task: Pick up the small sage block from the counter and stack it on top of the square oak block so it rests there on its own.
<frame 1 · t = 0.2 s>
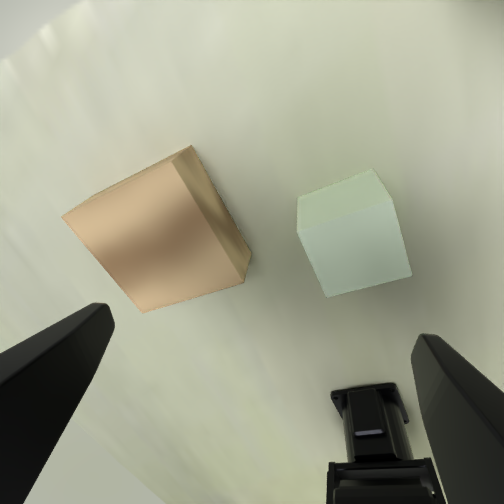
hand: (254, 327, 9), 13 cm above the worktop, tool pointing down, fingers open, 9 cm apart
oak block: (175, 223, 24), on the worktop
sage block: (344, 215, 21), on the worktop
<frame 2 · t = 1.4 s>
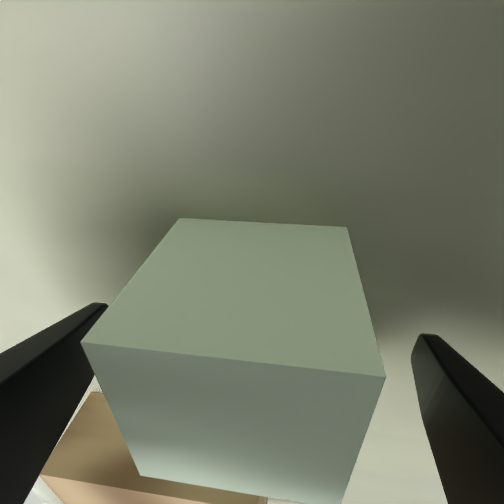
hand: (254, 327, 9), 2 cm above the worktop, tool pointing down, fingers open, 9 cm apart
oak block: (190, 443, 17), on the worktop
sage block: (260, 286, 10), on the worktop
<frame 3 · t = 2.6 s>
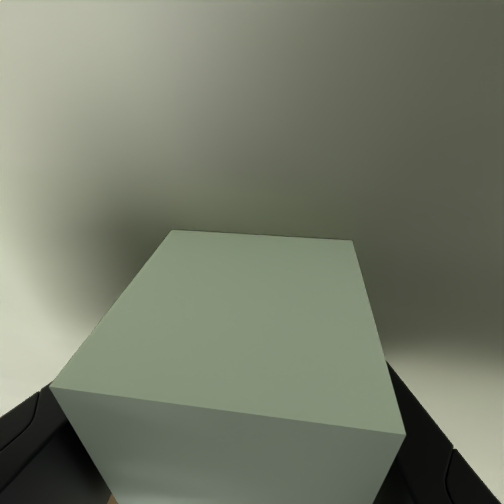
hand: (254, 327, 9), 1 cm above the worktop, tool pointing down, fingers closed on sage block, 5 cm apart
sage block: (258, 303, 10), on the worktop, touching gripper
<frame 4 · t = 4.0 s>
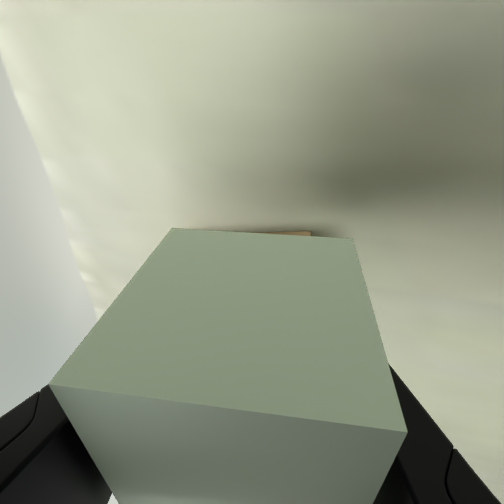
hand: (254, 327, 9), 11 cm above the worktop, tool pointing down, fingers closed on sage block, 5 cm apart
sage block: (258, 302, 10), point 10 cm above the worktop, touching gripper
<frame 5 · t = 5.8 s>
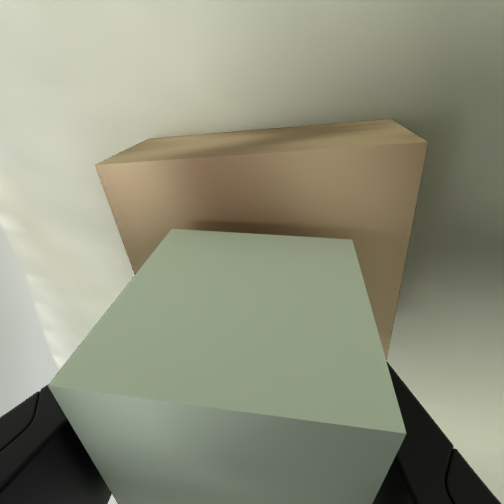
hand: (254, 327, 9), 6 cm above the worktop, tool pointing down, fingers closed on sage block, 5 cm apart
oak block: (270, 233, 14), on the worktop
sage block: (258, 302, 10), point 4 cm above the worktop, touching gripper
when the fingers open (5 cm above the worktop, at t = 6.5 s): sage block stays where it is, point 4 cm above the worktop.
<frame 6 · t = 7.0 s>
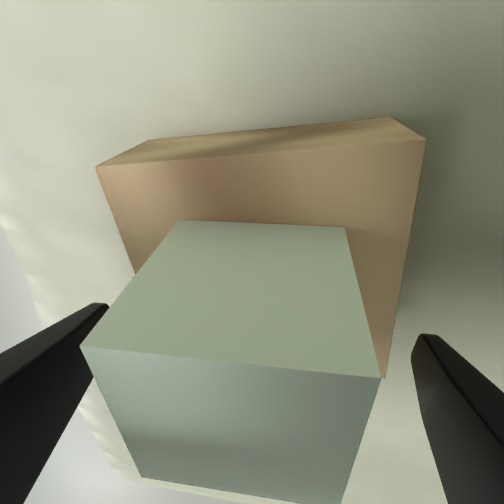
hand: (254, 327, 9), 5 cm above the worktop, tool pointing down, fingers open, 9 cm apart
oak block: (270, 232, 14), on the worktop
sage block: (259, 288, 10), point 4 cm above the worktop
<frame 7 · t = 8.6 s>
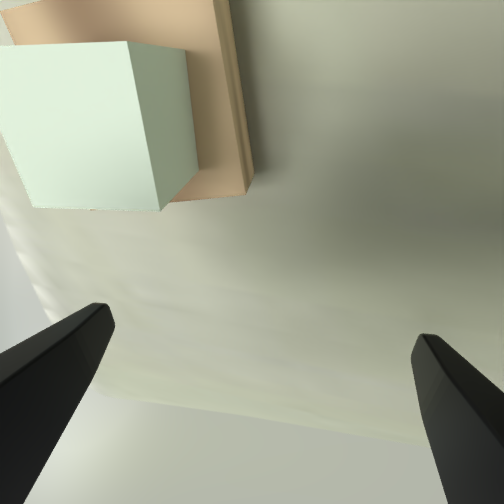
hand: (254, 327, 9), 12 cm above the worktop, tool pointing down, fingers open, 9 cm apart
oak block: (166, 103, 17), on the worktop
sage block: (140, 116, 14), point 4 cm above the worktop
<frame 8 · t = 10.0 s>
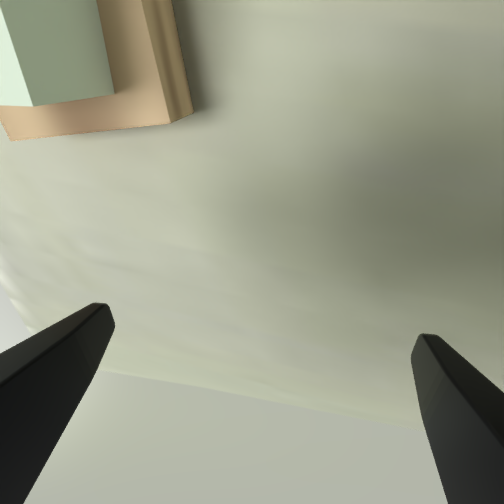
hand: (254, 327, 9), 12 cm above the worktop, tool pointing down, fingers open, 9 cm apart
oak block: (97, 29, 16), on the worktop, touching sage block
sage block: (46, 26, 13), point 4 cm above the worktop, touching oak block
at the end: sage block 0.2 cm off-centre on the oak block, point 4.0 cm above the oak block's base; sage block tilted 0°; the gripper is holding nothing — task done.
